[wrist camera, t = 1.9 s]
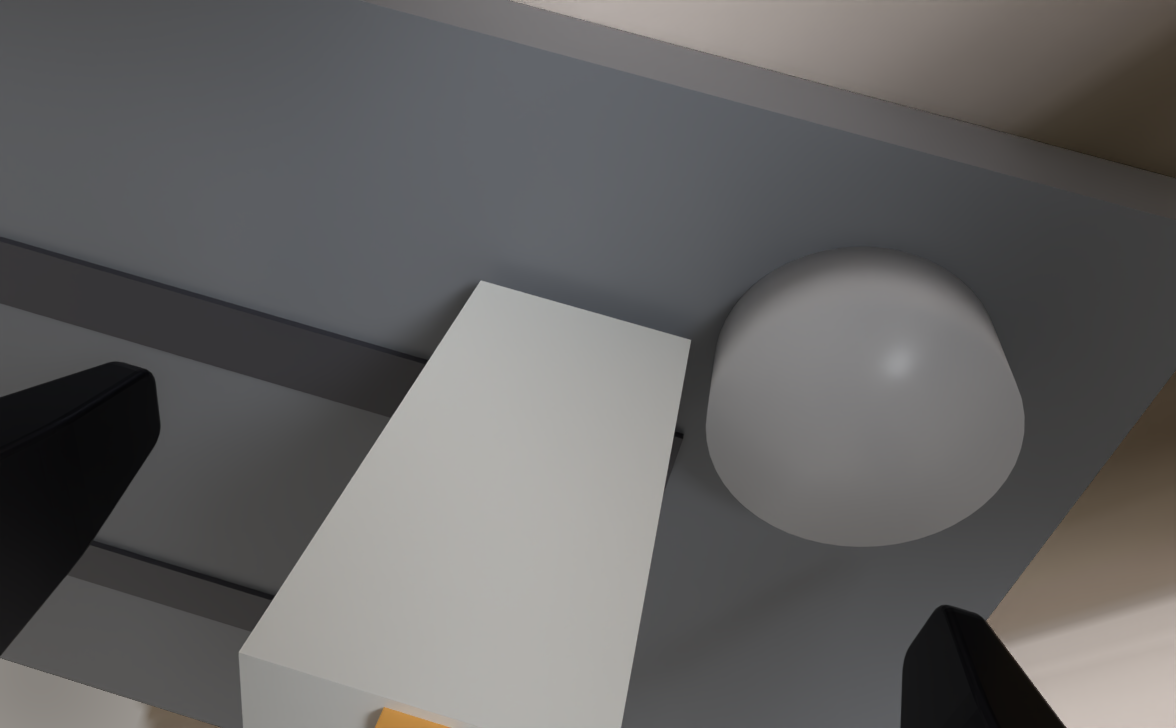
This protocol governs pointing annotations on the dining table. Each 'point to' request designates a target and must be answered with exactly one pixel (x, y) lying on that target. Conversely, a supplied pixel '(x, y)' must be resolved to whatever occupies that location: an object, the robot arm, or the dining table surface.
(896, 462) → the console
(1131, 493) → the dining table surface
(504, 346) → the fader
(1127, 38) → the dining table surface
